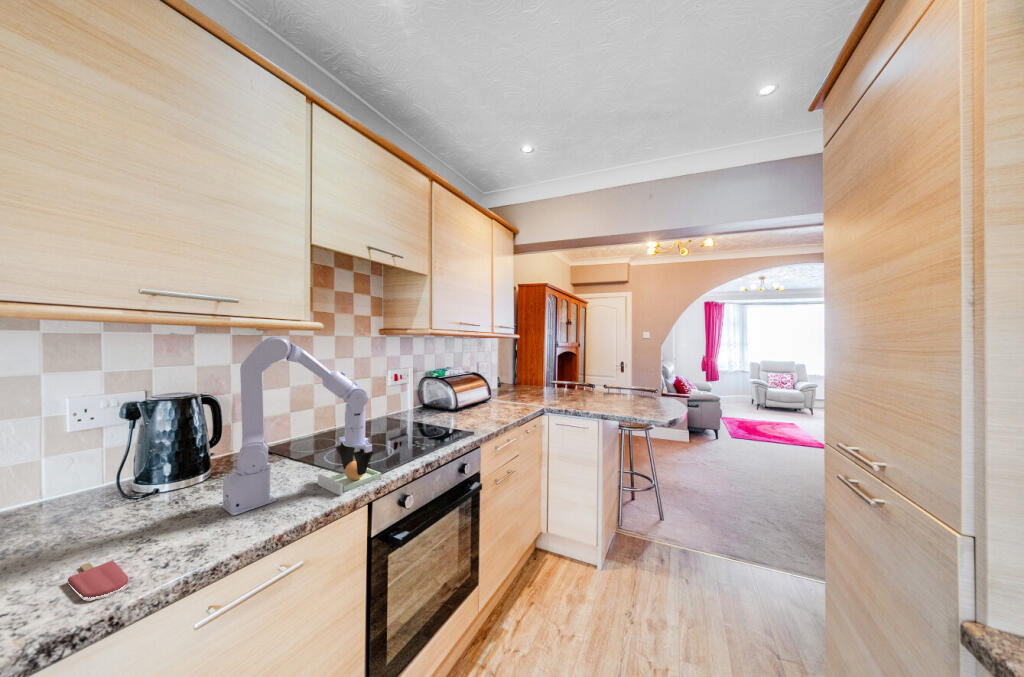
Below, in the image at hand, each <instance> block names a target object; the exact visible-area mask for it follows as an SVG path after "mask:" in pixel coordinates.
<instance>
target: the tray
mask: <svg viewBox="0 0 1024 677" xmlns="http://www.w3.org/2000/svg"><path fill="white" fill-rule="evenodd" d="M329 478H330V479H332V480H334V481H337V482H339V483H341V484H343V493H345V492H347V491H348V492H349V491H351V490H353V489H355V488H359V487H360V486H364V485H367V484H368V483H370V482H373V481H376V480H379V479H381V478H382V472H380V471H377V470H375V469H371V468H369V467H367V470H366V473H365V474H363V476H362V477H361V478H359V479H357V480H350V479H348V478H347V477H346V475H345V472H342V473H339V474H336V475H333V476H331V477H329Z"/></svg>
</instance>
